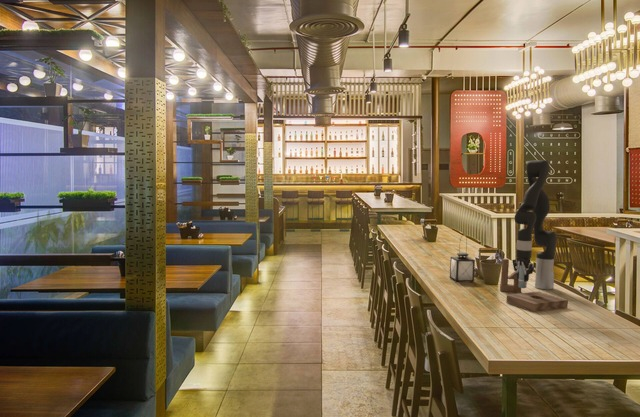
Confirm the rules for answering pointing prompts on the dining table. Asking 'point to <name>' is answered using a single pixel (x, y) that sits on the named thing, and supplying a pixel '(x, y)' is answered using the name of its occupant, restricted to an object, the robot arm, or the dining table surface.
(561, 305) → the socket block
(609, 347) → the dining table surface
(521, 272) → the peg
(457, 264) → the lantern
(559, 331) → the dining table surface
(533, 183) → the robot arm
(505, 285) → the brown wedge-headed part
